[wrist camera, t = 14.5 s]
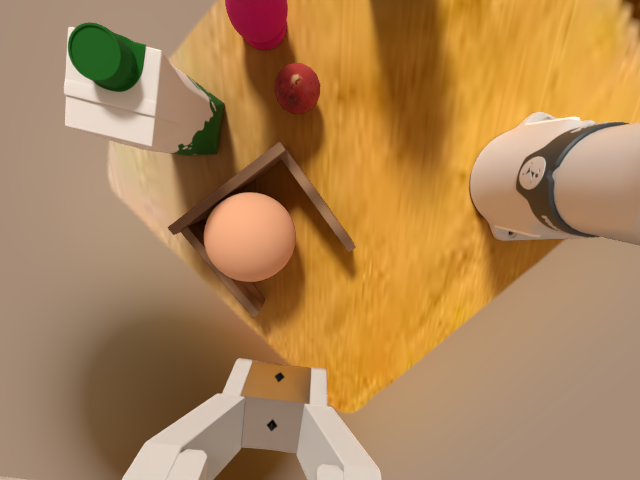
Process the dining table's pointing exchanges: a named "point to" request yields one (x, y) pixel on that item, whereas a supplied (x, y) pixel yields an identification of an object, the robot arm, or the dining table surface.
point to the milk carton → (136, 95)
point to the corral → (193, 219)
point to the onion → (297, 88)
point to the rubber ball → (249, 237)
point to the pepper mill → (259, 21)
